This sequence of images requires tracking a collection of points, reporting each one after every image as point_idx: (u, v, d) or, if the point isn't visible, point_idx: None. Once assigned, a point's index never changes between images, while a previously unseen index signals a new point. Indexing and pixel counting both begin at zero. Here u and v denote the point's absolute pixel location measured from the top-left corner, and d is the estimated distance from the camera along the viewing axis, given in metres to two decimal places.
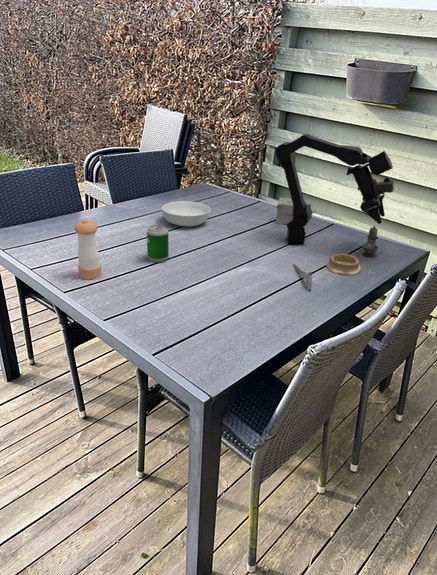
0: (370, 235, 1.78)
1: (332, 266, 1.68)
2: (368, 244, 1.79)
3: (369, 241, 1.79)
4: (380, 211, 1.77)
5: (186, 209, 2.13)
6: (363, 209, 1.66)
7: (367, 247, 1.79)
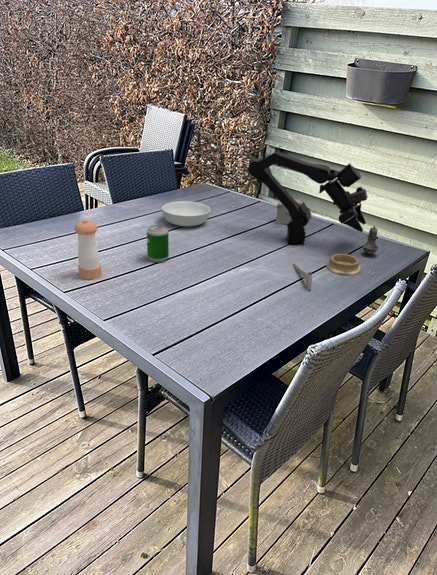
0: (370, 235, 1.78)
1: (332, 266, 1.68)
2: (368, 244, 1.79)
3: (369, 241, 1.79)
4: (361, 220, 1.82)
5: (186, 209, 2.13)
6: (342, 221, 1.71)
7: (367, 247, 1.79)
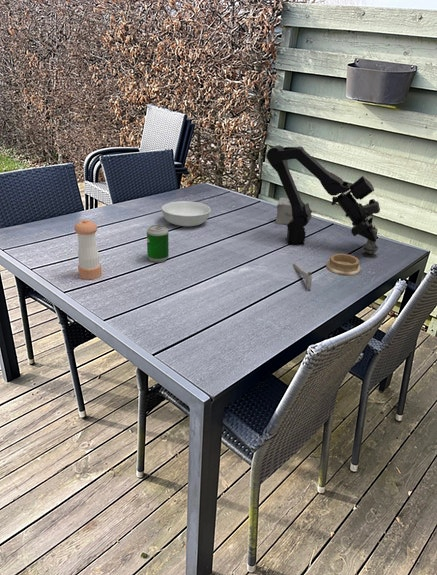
0: None
1: (332, 266, 1.68)
2: (368, 244, 1.79)
3: (369, 241, 1.79)
4: None
5: (186, 209, 2.13)
6: (354, 234, 1.72)
7: (367, 247, 1.79)
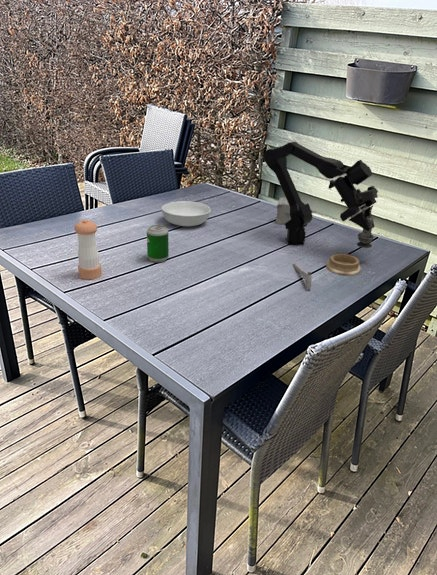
0: None
1: (332, 266, 1.68)
2: (362, 233, 1.70)
3: (364, 230, 1.70)
4: None
5: (186, 209, 2.13)
6: (343, 219, 1.65)
7: (361, 236, 1.70)
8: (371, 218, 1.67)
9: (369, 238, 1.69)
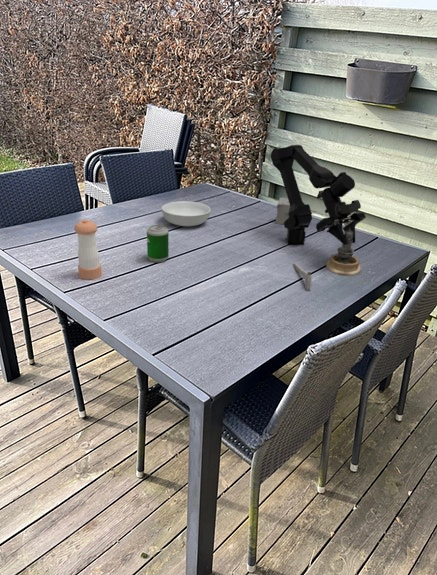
0: None
1: (332, 266, 1.68)
2: (341, 247, 1.67)
3: (342, 244, 1.66)
4: None
5: (186, 209, 2.13)
6: (317, 229, 1.64)
7: (339, 250, 1.67)
8: (349, 232, 1.63)
9: (346, 253, 1.65)
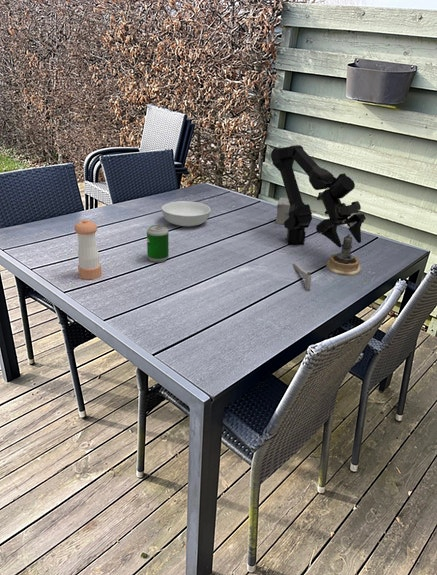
0: (343, 243, 1.66)
1: (332, 266, 1.68)
2: (341, 253, 1.68)
3: (342, 249, 1.67)
4: (356, 237, 1.68)
5: (186, 209, 2.13)
6: (317, 231, 1.64)
7: (338, 255, 1.68)
8: (349, 238, 1.64)
9: (345, 258, 1.66)
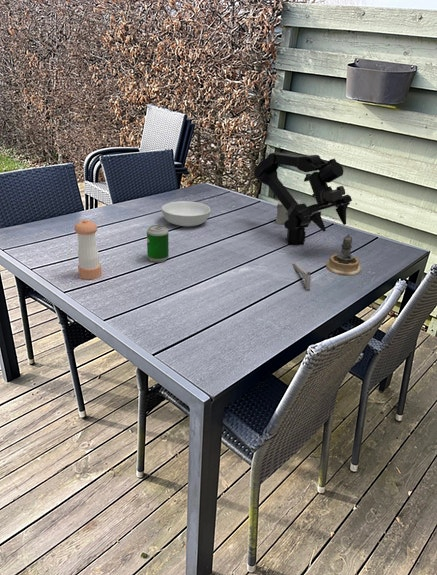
0: (343, 243, 1.66)
1: (332, 266, 1.68)
2: (340, 253, 1.68)
3: None
4: (342, 219, 1.75)
5: (186, 209, 2.13)
6: (303, 215, 1.73)
7: (338, 255, 1.68)
8: (348, 238, 1.64)
9: (345, 258, 1.66)
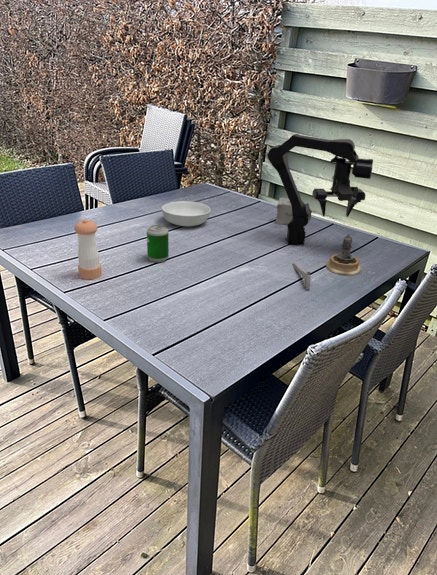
0: (343, 243, 1.66)
1: (332, 266, 1.68)
2: (340, 253, 1.68)
3: None
4: (347, 210, 1.81)
5: (186, 209, 2.13)
6: (312, 194, 1.79)
7: (338, 255, 1.68)
8: (348, 238, 1.64)
9: (345, 258, 1.66)
